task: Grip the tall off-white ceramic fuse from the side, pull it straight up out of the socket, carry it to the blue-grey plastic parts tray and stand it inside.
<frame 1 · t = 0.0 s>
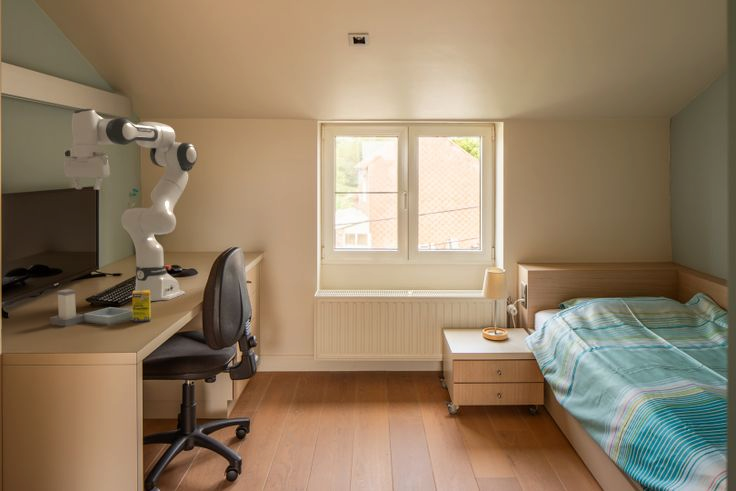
hand: (87, 189, 237), 48 cm above the table, tool pointing down, fingers open, 8 cm apart
tray: (109, 319, 233), on the table
socket: (67, 322, 228), on the table
supplement box: (142, 320, 233), on the table
fuse: (67, 323, 228), resting in socket
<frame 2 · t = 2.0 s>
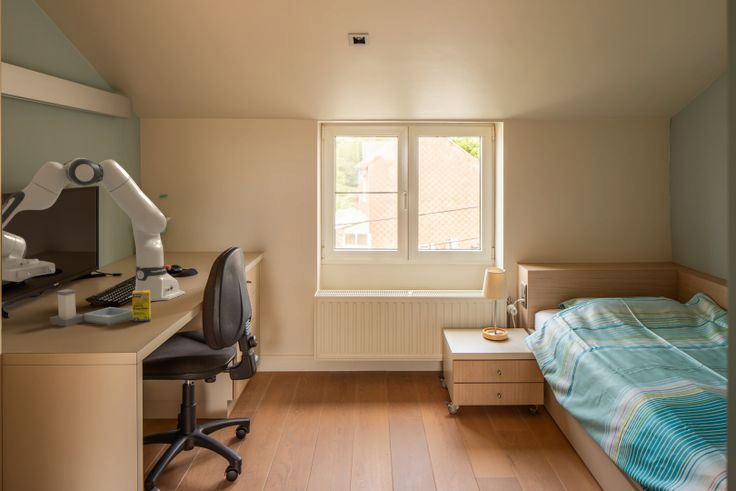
hand: (41, 272, 230), 18 cm above the table, tool horizontal, fingers open, 8 cm apart
nothing on the table moved.
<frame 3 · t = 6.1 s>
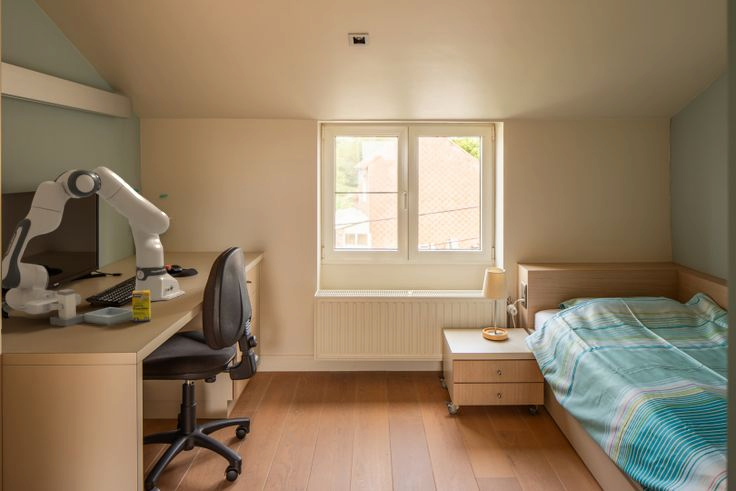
hand: (68, 305, 227), 7 cm above the table, tool horizontal, fingers closed on fuse, 4 cm apart
fuse: (67, 323, 228), resting in socket, touching gripper
everything else where it was.
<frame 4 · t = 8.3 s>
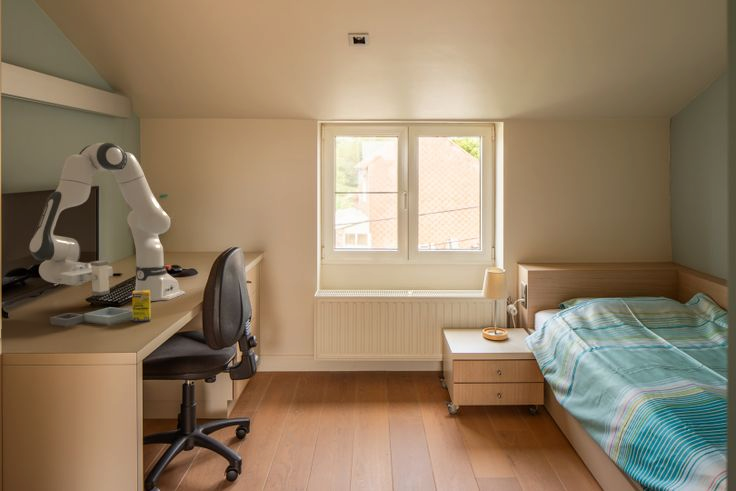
hand: (101, 276, 229), 17 cm above the table, tool horizontal, fingers closed on fuse, 4 cm apart
fuse: (101, 293, 231), point 10 cm above the table, touching gripper
everything else where it was.
when the fingers open (8 cm above the table, at t = 10.5 s): fuse stays where it is, resting on tray.
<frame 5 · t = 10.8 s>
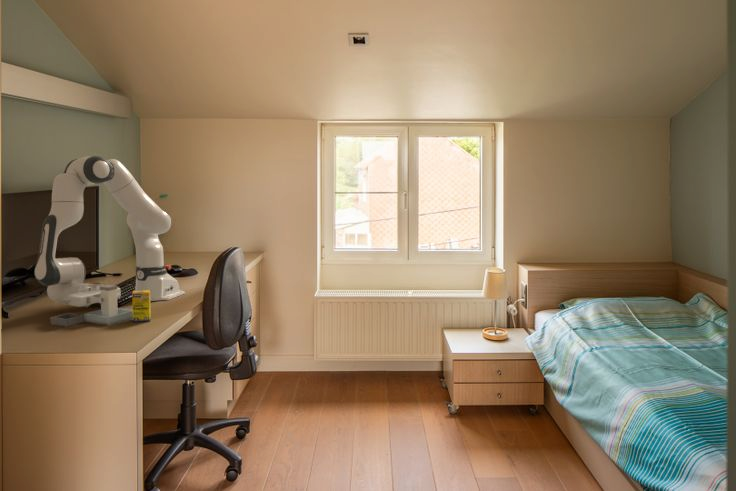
hand: (110, 298, 231), 8 cm above the table, tool horizontal, fingers open, 6 cm apart
fuse: (109, 317, 233), point 1 cm above the table, touching tray
everything else where it was.
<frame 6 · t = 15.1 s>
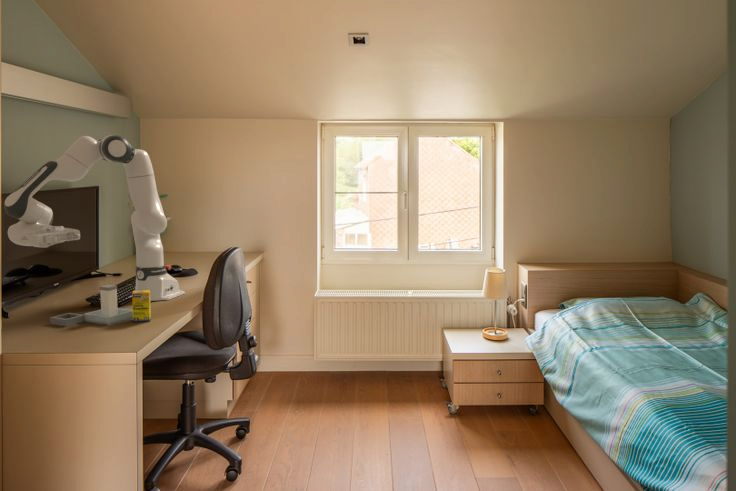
hand: (68, 238, 234), 30 cm above the table, tool horizontal, fingers open, 8 cm apart
nothing on the table moved.
at the end: fuse inside the target area on the tray (0.0 cm from its centre), point 0.8 cm above the tray's base; fuse tilted 0°; the gripper is holding nothing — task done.
